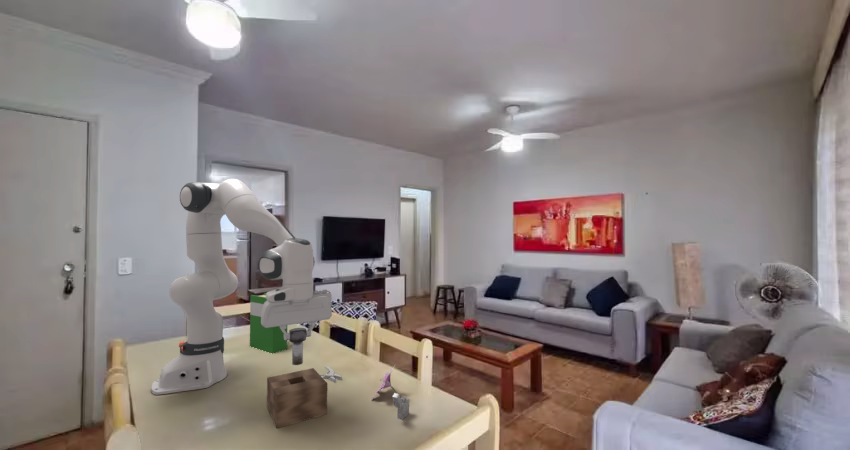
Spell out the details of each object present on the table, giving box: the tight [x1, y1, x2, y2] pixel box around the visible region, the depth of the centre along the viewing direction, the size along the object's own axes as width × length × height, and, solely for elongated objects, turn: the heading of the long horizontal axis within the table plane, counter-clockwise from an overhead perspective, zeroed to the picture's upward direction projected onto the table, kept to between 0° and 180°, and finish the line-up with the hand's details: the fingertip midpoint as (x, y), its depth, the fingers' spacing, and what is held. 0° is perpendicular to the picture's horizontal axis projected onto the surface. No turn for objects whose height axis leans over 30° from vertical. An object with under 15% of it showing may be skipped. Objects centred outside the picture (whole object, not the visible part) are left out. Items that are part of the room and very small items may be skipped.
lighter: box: [391, 392, 410, 421], centre depth 102 cm, size 7×2×8 cm, turn 154°
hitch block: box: [266, 367, 328, 429], centre depth 106 cm, size 14×14×9 cm
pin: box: [288, 327, 307, 366], centre depth 107 cm, size 5×5×10 cm
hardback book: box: [249, 292, 288, 355], centre depth 164 cm, size 18×7×24 cm, turn 57°
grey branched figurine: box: [319, 365, 343, 384], centre depth 132 cm, size 10×2×15 cm
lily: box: [371, 365, 397, 401], centre depth 116 cm, size 12×12×10 cm
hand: (297, 337), depth 107 cm, fingers closed on pin, 5 cm apart
